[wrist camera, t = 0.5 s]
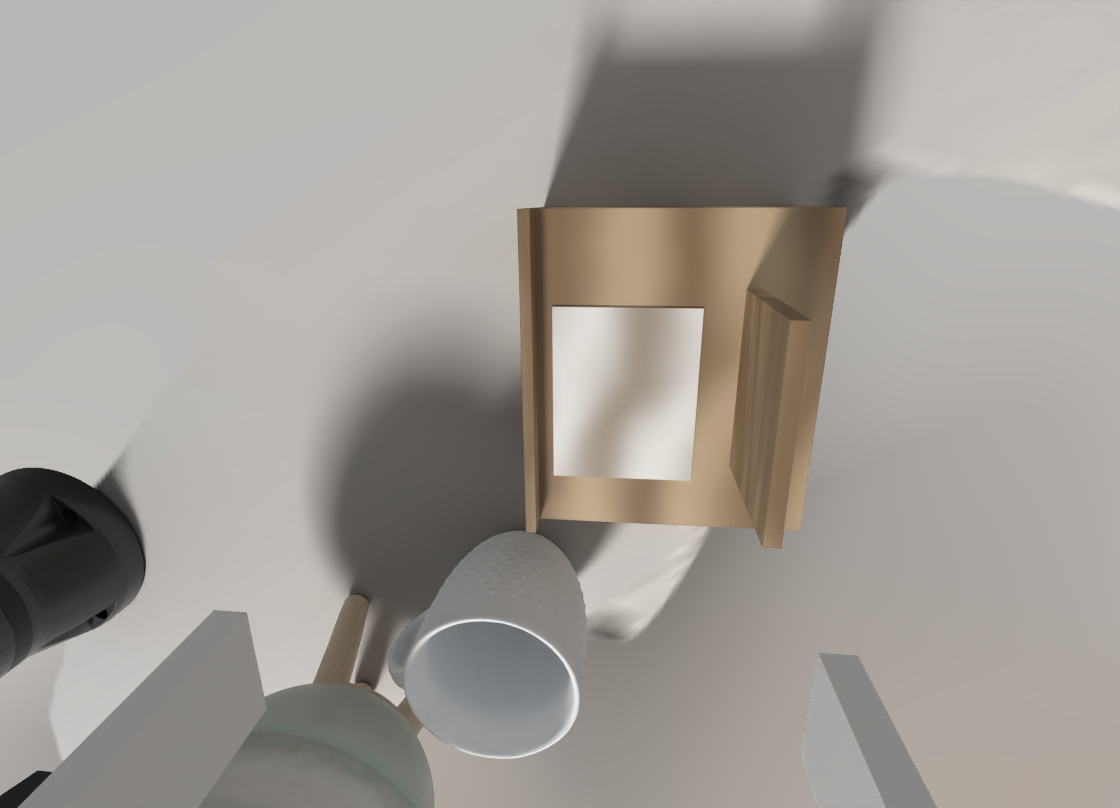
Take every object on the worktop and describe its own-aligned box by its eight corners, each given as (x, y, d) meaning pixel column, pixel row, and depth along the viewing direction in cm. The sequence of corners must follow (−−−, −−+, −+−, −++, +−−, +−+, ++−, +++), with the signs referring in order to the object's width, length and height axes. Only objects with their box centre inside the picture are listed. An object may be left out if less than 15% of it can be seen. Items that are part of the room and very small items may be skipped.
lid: (531, 513, 36) (503, 607, 28) (524, 208, 31) (486, 211, 22) (796, 525, 35) (853, 628, 26) (842, 207, 29) (933, 209, 21)
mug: (453, 647, 51) (399, 789, 39) (393, 544, 48) (315, 661, 36) (612, 600, 48) (609, 739, 35) (559, 487, 45) (536, 594, 33)
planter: (318, 547, 49) (90, 809, 28) (502, 606, 49) (413, 910, 28) (293, 688, 54) (86, 995, 33) (458, 741, 55) (356, 1080, 33)
